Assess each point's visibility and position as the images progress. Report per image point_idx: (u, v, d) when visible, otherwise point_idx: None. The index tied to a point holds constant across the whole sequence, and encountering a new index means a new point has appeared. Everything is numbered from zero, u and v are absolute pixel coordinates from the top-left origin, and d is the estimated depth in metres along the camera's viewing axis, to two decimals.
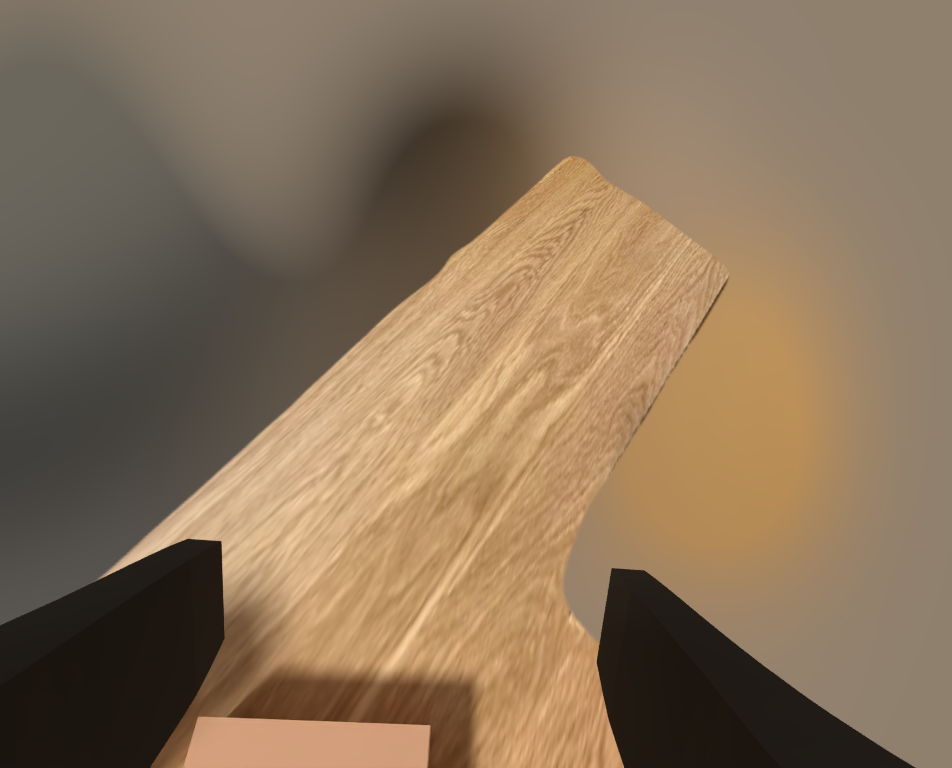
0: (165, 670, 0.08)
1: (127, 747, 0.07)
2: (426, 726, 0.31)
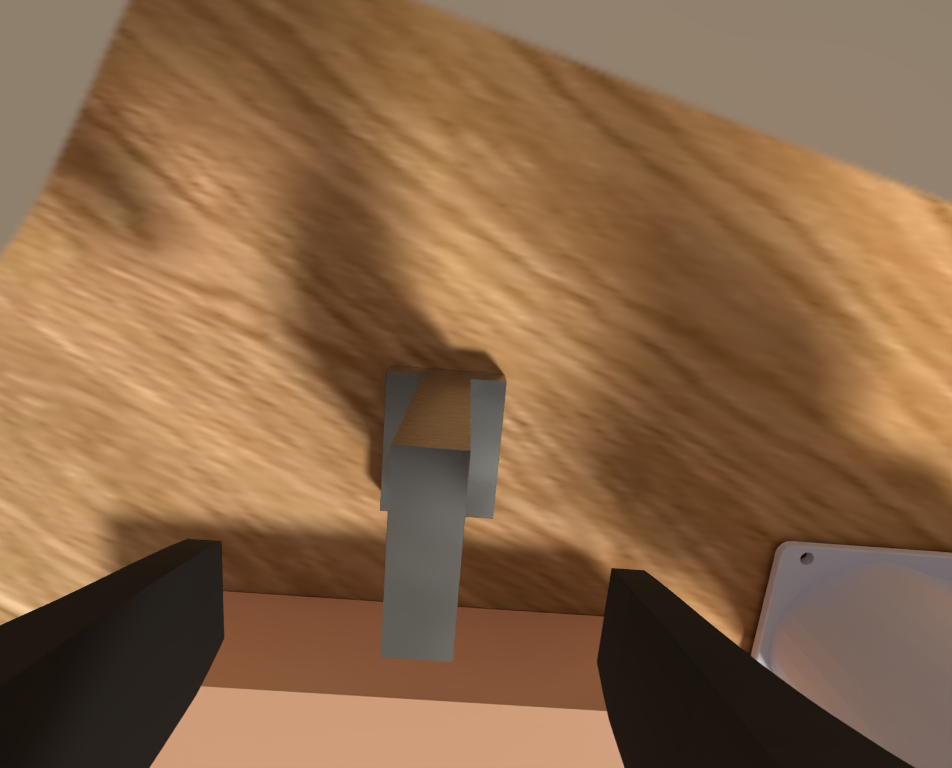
0: (165, 670, 0.08)
1: (127, 747, 0.07)
2: None
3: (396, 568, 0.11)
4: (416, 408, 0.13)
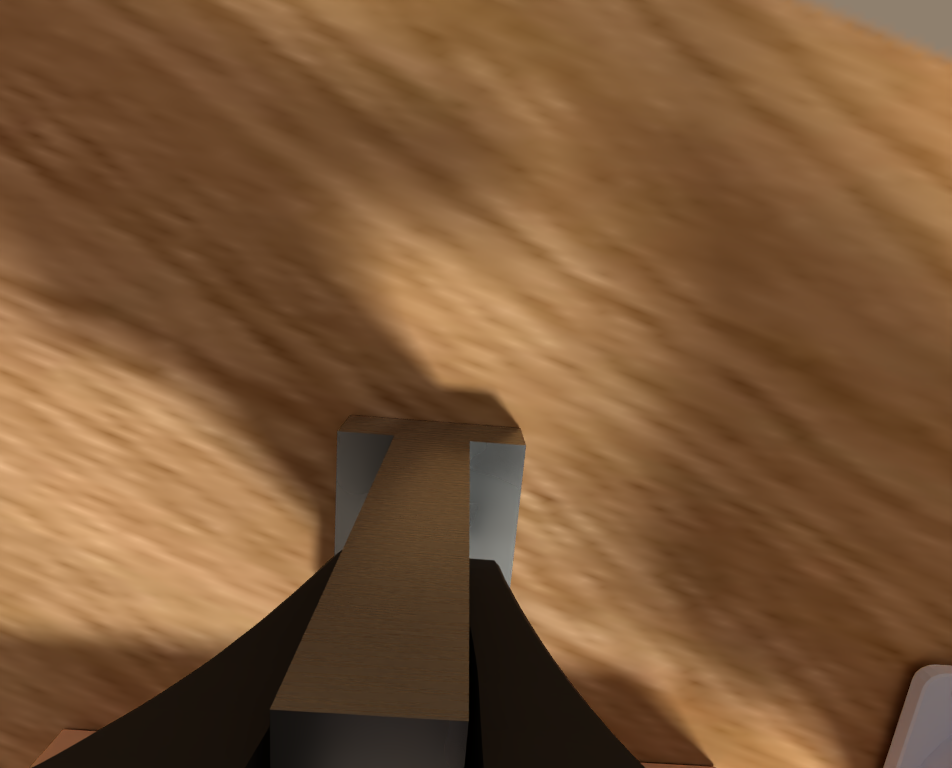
0: None
1: None
2: None
3: None
4: (366, 535, 0.07)
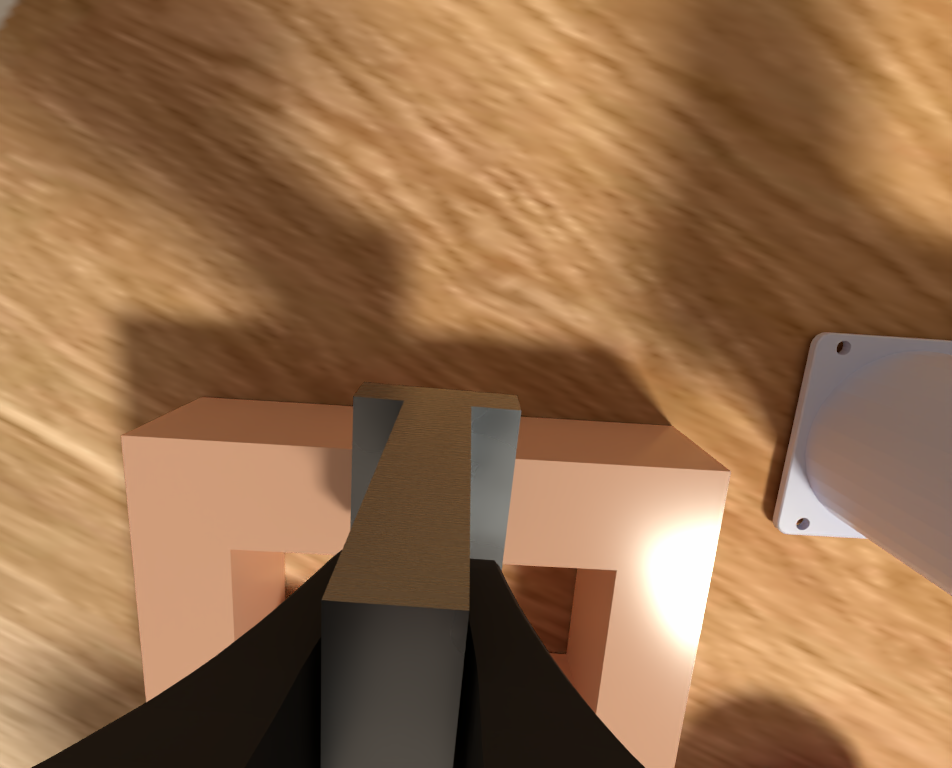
0: None
1: None
2: (123, 442, 0.15)
3: None
4: (384, 481, 0.08)
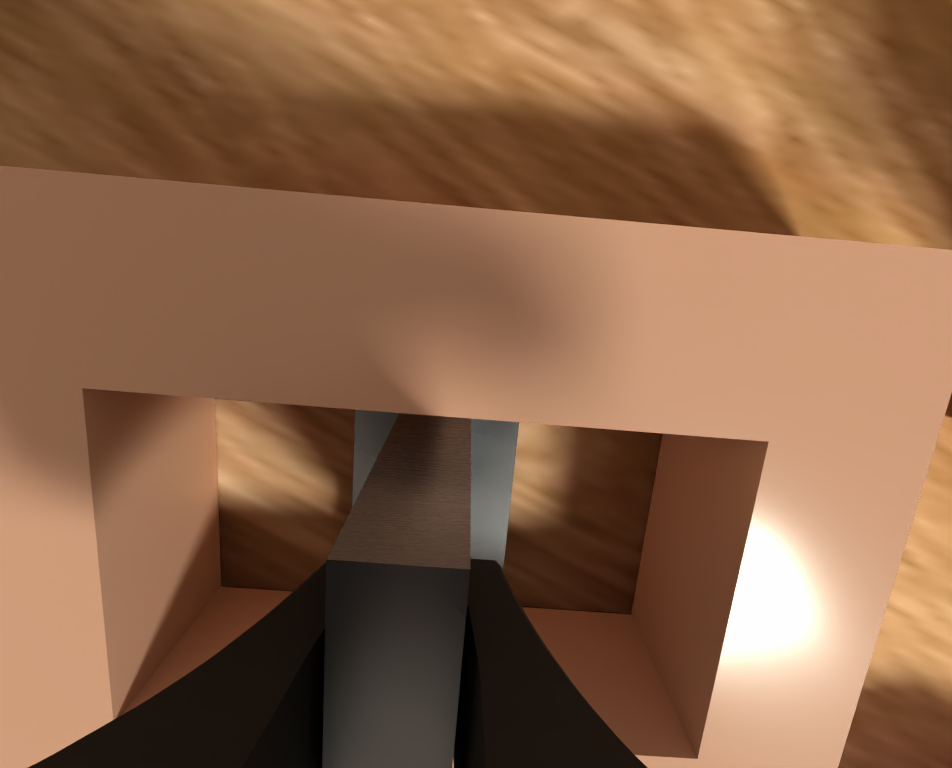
0: None
1: None
2: None
3: (342, 762, 0.06)
4: (387, 465, 0.08)
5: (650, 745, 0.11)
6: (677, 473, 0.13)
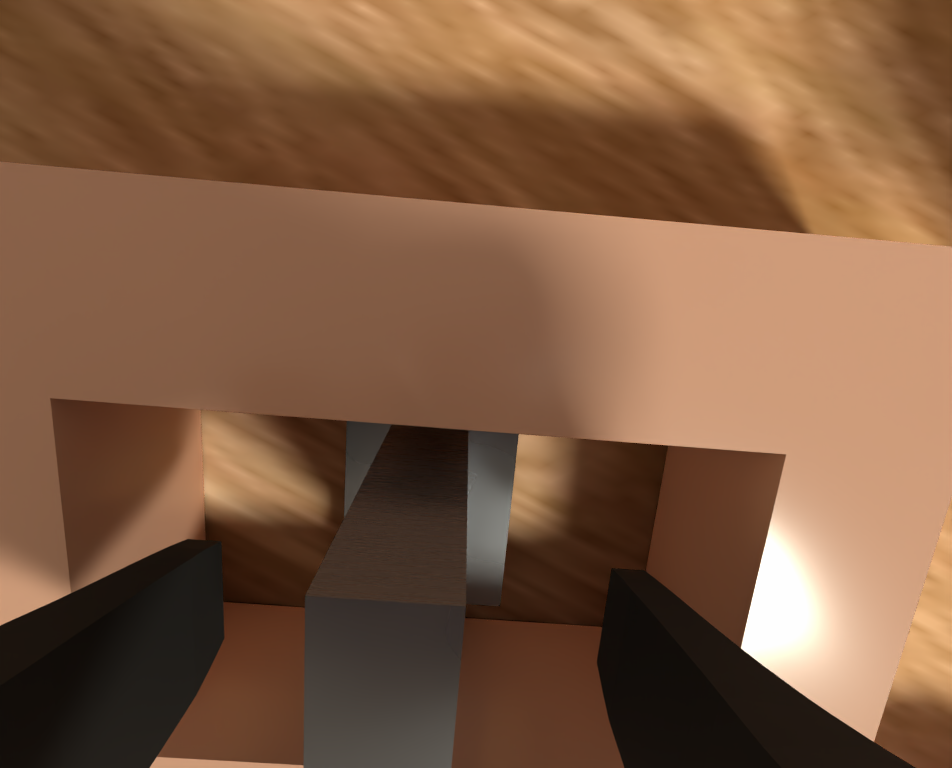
0: (165, 670, 0.08)
1: (127, 747, 0.07)
2: None
3: None
4: (377, 482, 0.08)
5: None
6: (685, 484, 0.12)
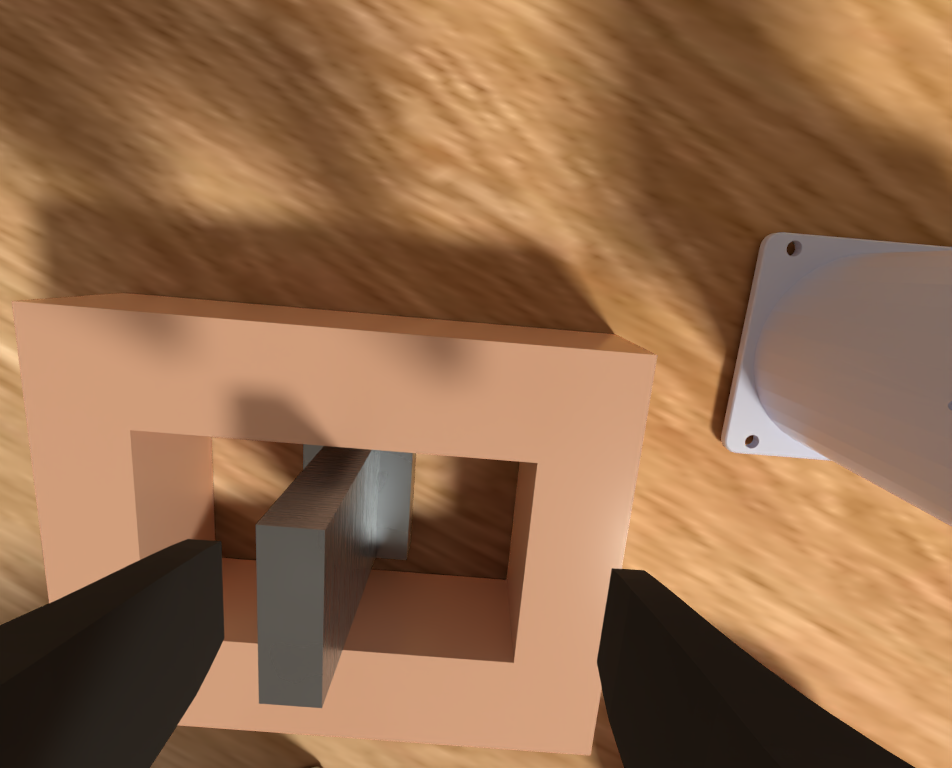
0: (165, 670, 0.08)
1: (127, 747, 0.07)
2: (15, 309, 0.14)
3: (267, 629, 0.12)
4: (305, 477, 0.14)
5: (486, 655, 0.17)
6: (521, 480, 0.19)
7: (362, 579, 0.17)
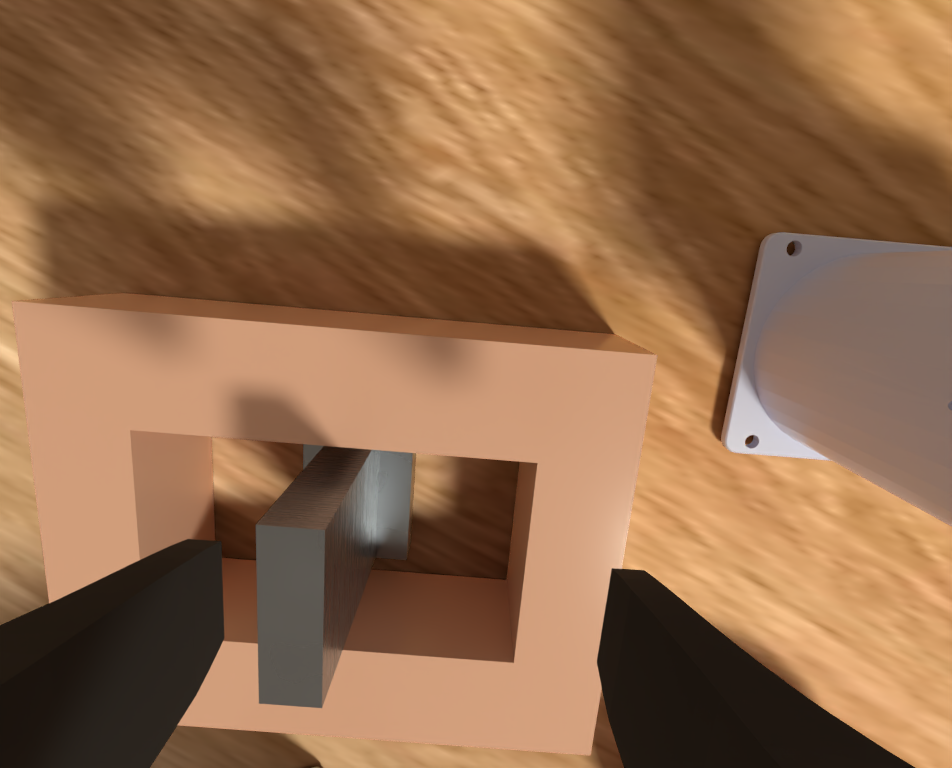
0: (165, 670, 0.08)
1: (127, 747, 0.07)
2: (15, 309, 0.14)
3: (267, 629, 0.12)
4: (305, 477, 0.14)
5: (486, 655, 0.17)
6: (521, 480, 0.19)
7: (362, 579, 0.17)
